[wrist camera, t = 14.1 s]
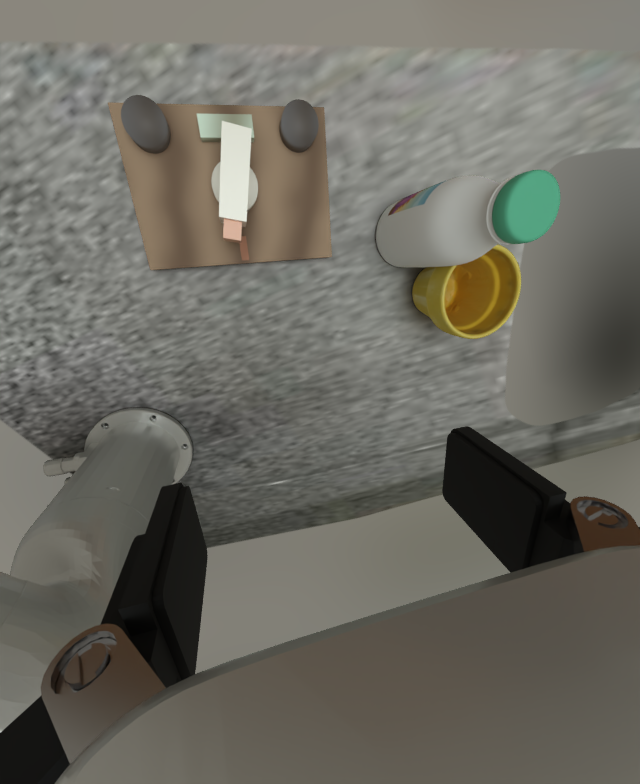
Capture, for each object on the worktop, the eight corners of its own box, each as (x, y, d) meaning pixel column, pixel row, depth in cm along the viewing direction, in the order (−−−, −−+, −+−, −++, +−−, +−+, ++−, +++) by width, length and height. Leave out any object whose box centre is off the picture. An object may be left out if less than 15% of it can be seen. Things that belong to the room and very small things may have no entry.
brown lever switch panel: (154, 269, 35) (145, 269, 32) (115, 112, 30) (98, 91, 26) (327, 257, 39) (336, 256, 36) (319, 116, 34) (329, 97, 30)
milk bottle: (421, 271, 43) (557, 272, 24) (368, 262, 41) (474, 257, 22) (435, 207, 40) (599, 155, 22) (380, 194, 38) (510, 125, 20)
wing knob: (213, 144, 31) (208, 117, 25) (259, 155, 32) (263, 131, 27) (211, 240, 34) (206, 234, 28) (253, 247, 35) (256, 242, 29)
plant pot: (461, 236, 42) (520, 227, 33) (470, 310, 47) (525, 320, 38) (391, 264, 41) (433, 263, 32) (408, 337, 46) (449, 353, 37)
